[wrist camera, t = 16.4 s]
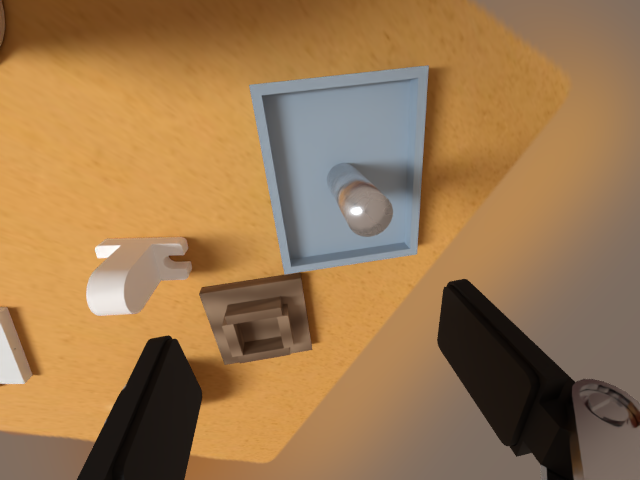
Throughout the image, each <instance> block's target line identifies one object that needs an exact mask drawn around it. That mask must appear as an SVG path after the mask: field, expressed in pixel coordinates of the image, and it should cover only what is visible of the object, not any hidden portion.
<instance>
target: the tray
mask: <svg viewBox="0 0 640 480" xmlns="http://www.w3.org/2000/svg"><path fill="white" fill-rule="evenodd" d="M428 69H429V66H419V67H410V68H401V69H392V70H383V71H373V72H364V73H355V74H346V75H337V76H328V77H318V78H309V79H300V80H291V81H282V82H272V83H263V84H254V85H249V87H250V92H251V97H252V103H253V108H254V113H255V119H256V124H257V129H258V135H259V140H260V145H261V151H262V156H263V161H264V167H265V172H266V178H267V183H268V188H269V194H270V199H271V204H272V210H273V215H274V220H275V226H276V231H277V236H278V242H279V247H280V252H281V258H282V263H283V268H284V274H291V273H298V272H304V271H311V270H317V269H324V268H330V267H337V266H343V265H350V264H356V263H363V262H369V261H376V260H382V259H389V258H395V257H402V256H409V255H415V254H417V246H418V230H419V214H420V197H421V181H422V165H423V149H424V133H425V117H426V101H427V85H428ZM340 163H348V164H351V165H352V166H354V167H355V168H356V169H357V170H358V171H359V172H360V173H361V174H362V175H363V176H364V177H365V178H366V179H367V180H368V181H370V182H371V183H372V184H373V185H374V186H375V187H376V188H377V189H378V190H379V191H380V192H381V193H382V194H383V195H384V196H385V197H386V198H387V199H388V200H389V201H390V202H391V204H392V208H393V217H392V220H391V222H390V224H389V226H388V227H387V228H386V229H385V230H384V231H383V232H381V233H380V234H378V235H375V236H371V237H363V236H359V235H357V234H355V233H354V232H353V231H352V230H351V229H350V227H349V225H348V223H347V222H346V220H345V218H344V216H343V214H342V212H341V210H340V208H339V206H338V205H337V203H336V201H335V199H334V197H333V195H332V193H331V191H330V189H329V188H328V185H327V175H328V173H329V171H330V170H331V168H332V167H334V166H335V165H337V164H340Z"/></svg>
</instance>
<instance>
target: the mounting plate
mask: <svg viewBox="0 0 640 480" xmlns="http://www.w3.org/2000/svg"><path fill="white" fill-rule="evenodd" d="M31 376H32V372H31V369H30V367H29V364H28V361H27V359H26V356H25V353H24V351H23V348H22V345H21V343H20V340H19V337H18V334H17V332H16V329H15V326H14V324H13V321H12V318H11V316H10V313H9V310H8V308H7V307H0V384H25V383H26V382H27V381H28V380H29V379H30V377H31Z"/></svg>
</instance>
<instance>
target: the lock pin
mask: <svg viewBox="0 0 640 480" xmlns="http://www.w3.org/2000/svg"><path fill="white" fill-rule="evenodd" d="M327 185H328V188H329V189H330V191H331V193H332V195H333V197H334V199H335V201H336V203H337V205H338V206H339V208H340V210H341V212H342V214H343V216H344V218H345V220H346V222H347V223H348V225H349V227H350V229H351V230H352V231H353V232H354V233H355V234H357V235H359V236H363V237H371V236H375V235H378V234H380V233H381V232H383V231H384V230H385V229H386V228H387V227H388V226H389V224H390V222H391V220H392V217H393V208H392V204H391V202H390V201H389V200H388V199H387V198H386V197H385V196H384V195H383V194H382V193H381V192H380V191H379V190H378V189H377V188H376V187H375V186H374V185H373V184H372V183H371V182H370V181H368V180H367V179H366V178H365V177H364V176H363V175H362V174H361V173H360V172H359V171H358V170H357V169H356V168H355V167H354V166H352V165H351V164H348V163H340V164H337V165H335V166H334V167H332V168H331V170H330V171H329V173H328V175H327Z"/></svg>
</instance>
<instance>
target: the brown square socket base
mask: <svg viewBox="0 0 640 480" xmlns="http://www.w3.org/2000/svg"><path fill="white" fill-rule="evenodd" d="M199 295H200V298H201V301H202V303H203V306H204V309H205V312H206V314H207V317H208V320H209V323H210V325H211V328H212V331H213V334H214V336H215V339H216V342H217V345H218V347H219V350H220V353H221V356H222V358H223V361H224V364H225V365H227V364H232V363H238V362H240V363H245V362H251V361H256V360H262V359H268V358H274V357H280V356H286V355H290V354H291V353H296V352H302V351H308V350H312V344H311V338H310V331H309V325H308V318H307V312H306V306H305V299H304V293H303V287H302V280H301V274H300V273H294V274H287V275H281V276H274V277H268V278H261V279H255V280H248V281H242V282H235V283H229V284H222V285H216V286H209V287H203V288H201V291H200V293H199Z"/></svg>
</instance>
